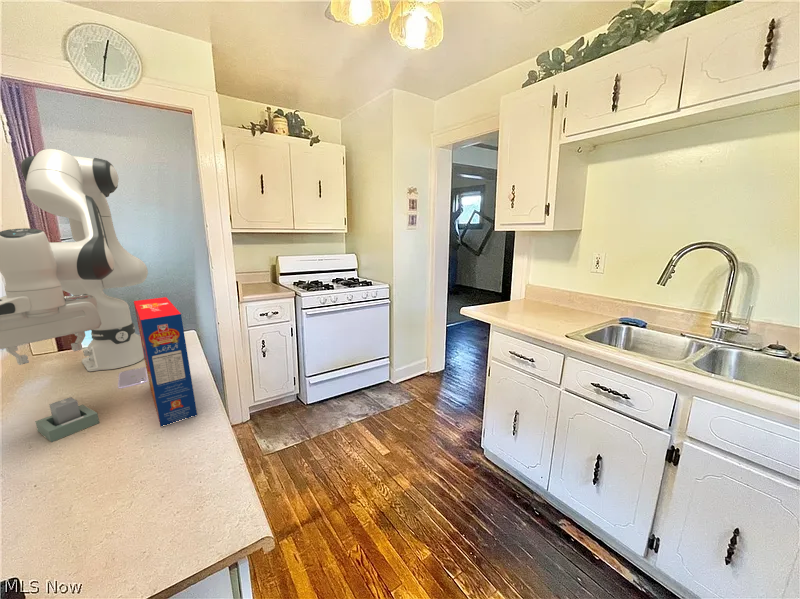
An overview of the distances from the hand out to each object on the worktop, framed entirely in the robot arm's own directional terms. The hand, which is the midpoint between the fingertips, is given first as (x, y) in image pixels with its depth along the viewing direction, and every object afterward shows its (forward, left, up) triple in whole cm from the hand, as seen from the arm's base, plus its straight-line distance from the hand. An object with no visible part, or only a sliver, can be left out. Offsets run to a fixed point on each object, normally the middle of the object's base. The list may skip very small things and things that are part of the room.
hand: (51, 356), depth 80 cm
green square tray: (0, 0, -19) cm, 19 cm away
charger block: (0, 0, -18) cm, 18 cm away
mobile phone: (-19, +22, -20) cm, 35 cm away
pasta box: (+9, +19, -19) cm, 29 cm away
